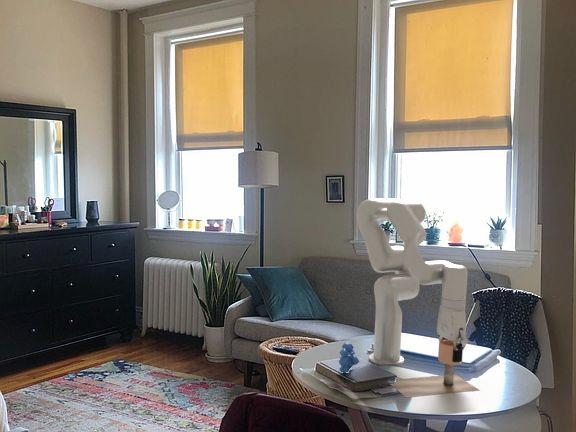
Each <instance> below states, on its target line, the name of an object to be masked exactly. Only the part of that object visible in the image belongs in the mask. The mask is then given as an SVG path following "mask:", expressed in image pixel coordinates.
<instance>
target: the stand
mask: <svg viewBox="0 0 576 432" xmlns="http://www.w3.org/2000/svg"><path fill="white" fill-rule="evenodd" d="M443 371H444V372H443V374H442V375H441V374H440V375H433V376H420V377H418V376H417V377H410V378H409V377H408V378H407V377H406V378H398V379H396V378H395V379H396V382H395V383H394V384H389V385H390V386H391V387H393V388H394V389H395V390H397V392H399V393H400V394H401V395H403V396H404V398H415V397H416V398H417V397H426V396H436V395H445V394H456V393H458V394H459V393H467V392H474V391H475V392H478V391H480V389H479V388H477V387H476V386H474V385H473V384H471V383H469V382H468V381H466V380H465V379H464V378H461V377H460V376H459V375H457V374H454V373H455V365H448V364H444V370H443Z"/></svg>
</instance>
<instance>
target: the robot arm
mask: <svg viewBox="0 0 576 432" xmlns="http://www.w3.org/2000/svg"><path fill="white" fill-rule="evenodd" d="M355 217H356V223H357V226H358V229H359V232H360V233H361V236H362V238H363V241H364V243H365V244H364V245H365V248H366V251H367V255H368V260H369V263H370V265H371V268H372V270H373V271H375V272H376V273H379V274H380V273H394V274H388V275H387V274H386V275H382V276H380V277H378V278H377V279H376V281H375V282H374V284H373V293H374V299H375V300H374V301H375V318H374V319H375V321H374V322H375V324H374V343H373V345H372V348H373V352H372V353H371V354H369V356H368V358H369V361H370V362H371V363H373V364H375V365H379V366H393V365H402V364H404V363H405V358H404V356H402V355H401V346H402V345H401V344H402V343H401V342H402V326H403V325H402V324H403V323H402V322H403V313H402V309H401V306H400V304H399V301H406V300H411V299H414V298H416V297H417V296H418V294H419V293H420V285H422V286H428V285H439V284H440V285H441V284H442V285H441V300H440V303H441V304H440V305H439V309H438V315H437V323H436V333H437V335H438V343H439V342H440V341H441V340H449V341H451V342H453V345H454V350H453V358H452V361H453V362H462V363H463V354H462V353H463V351H464V350H465V347H466V346H467V344H468V343H469V340H468V338H467V336H466V334H467V318H466V317H467V315H466V306H467V305H466V303H467V291H468V290H467V287H468V274H469V273H468V268H467V267H466V266H464V265H462V264H455V263H452V262H449V261H447V260H441V259H440V260H429V261H425V260H424V258H423V257H422V255H421V254H420V252H419V248H418V247H419V245H421V244H422V243H423V242H424V241H425V239H426V238H427V231H426V229H425V227H424V226H423V225H422V223H423V222H424V221H425V219H426V209H425V206H424V205H423V204H422V203H420V201H417V200H409V199H401V198H389V197H388V198H369V199H365V200H363V201H362V202H361V203H359V205H358V206H357V210H356V216H355ZM378 222H390V224H391V226H393V228H394V229H395V231H396V233H397V235H398V237H400V240H401V242H402V243H403V246H401V245H391V244H390V241H389V239H388V234H387V233H386V231H385V229H383V227H382V226H381V225H380V224H379V223H378ZM457 342H459V344H458V345H457Z"/></svg>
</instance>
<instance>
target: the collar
mask: <svg viewBox="0 0 576 432" xmlns="http://www.w3.org/2000/svg"><path fill="white" fill-rule="evenodd" d="M458 344H459V342H457V345H458ZM453 350H454V345H453V342H451V341H449V340H441V341H440V342H439V341H438V355H437V361H438V362H440V363H441V364H444V365H445V364H448V365H454V366H458V365H460V366H461V364H462V363H463V361H462V362H453V361H452V358H453ZM462 355H463V353H462Z"/></svg>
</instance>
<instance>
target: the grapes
mask: <svg viewBox="0 0 576 432" xmlns="http://www.w3.org/2000/svg"><path fill="white" fill-rule="evenodd" d="M341 348H342V349H341V350H340V351H339V353H338V354H340V356H341V357H340V358H339V360H338V364H339V365H340V367H339V368H338V369H339V371H341V372H343V373H346V372H348V371H349V369H350V368H351V367H352V368H353V366H356V365H358V364H359V363H360V360H359V358H358V356H356V355H355V354H356V352H355V351H354V346H353V344H352V342H344V343H343V345H342V346H341ZM341 372H340V373H341Z"/></svg>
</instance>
